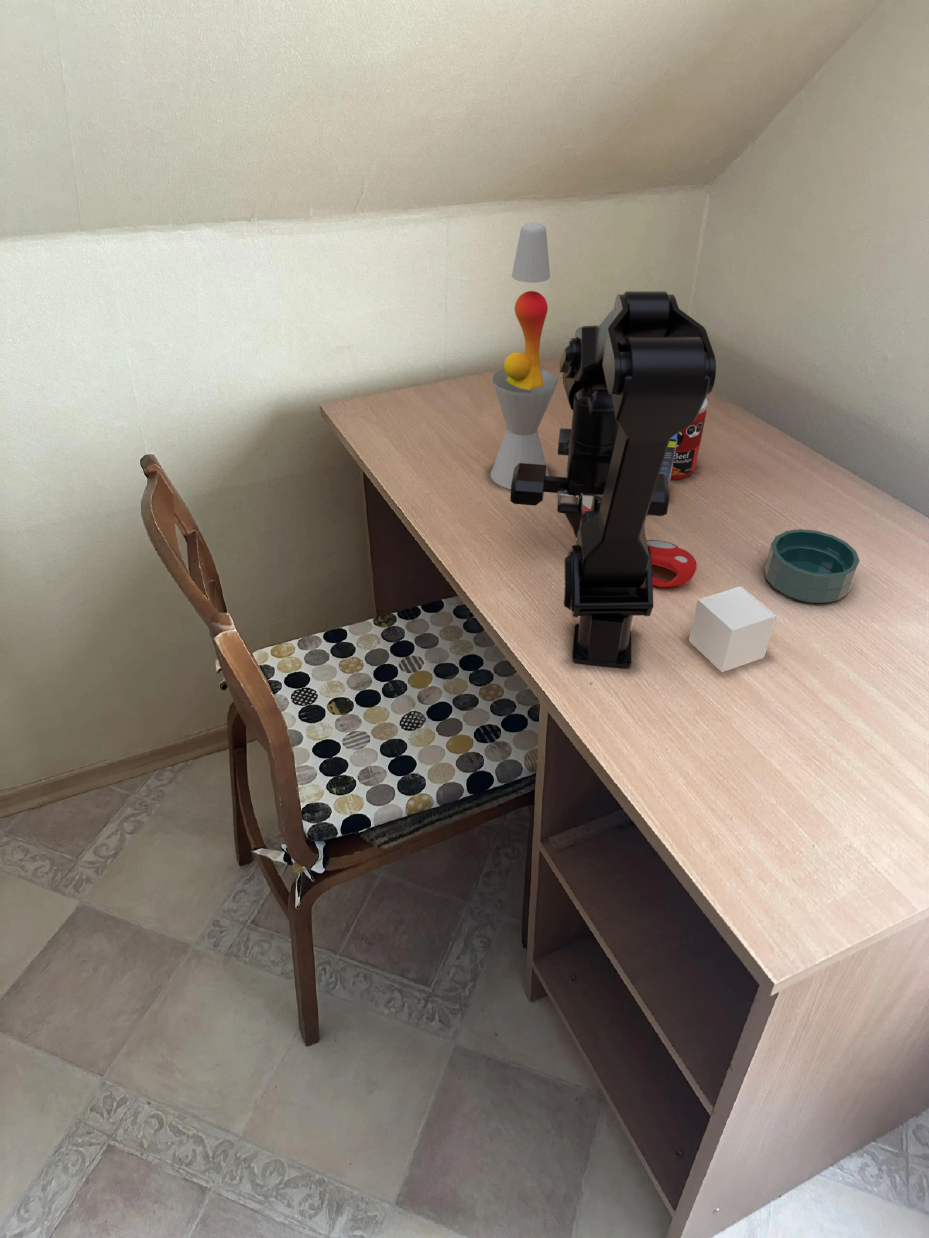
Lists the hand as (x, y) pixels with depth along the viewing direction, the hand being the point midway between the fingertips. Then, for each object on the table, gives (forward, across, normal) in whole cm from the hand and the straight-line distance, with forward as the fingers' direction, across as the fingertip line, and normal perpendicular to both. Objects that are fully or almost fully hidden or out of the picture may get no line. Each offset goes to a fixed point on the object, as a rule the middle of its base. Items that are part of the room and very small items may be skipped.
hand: (582, 547), depth 114 cm
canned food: (+2, -12, -27) cm, 30 cm away
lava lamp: (+2, +10, -21) cm, 23 cm away
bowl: (+2, -28, 0) cm, 28 cm away
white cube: (+2, -17, +15) cm, 23 cm away
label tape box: (+2, -7, -19) cm, 20 cm away
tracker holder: (+2, -8, 0) cm, 8 cm away
